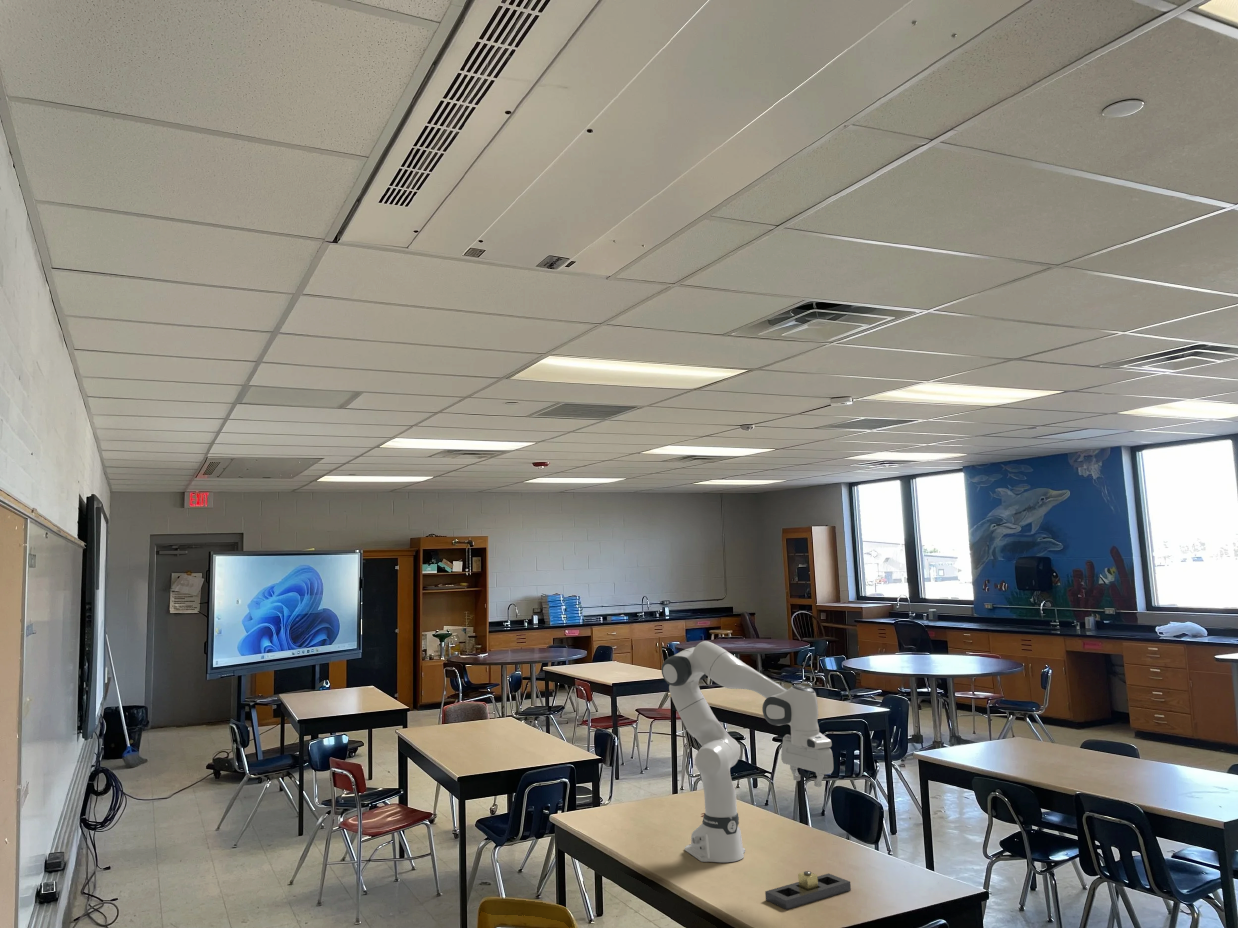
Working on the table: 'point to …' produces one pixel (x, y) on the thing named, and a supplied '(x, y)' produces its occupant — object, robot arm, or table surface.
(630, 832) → the table surface
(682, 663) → the robot arm
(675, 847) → the table surface
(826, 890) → the grey flat slotted block
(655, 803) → the table surface
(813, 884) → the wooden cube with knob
